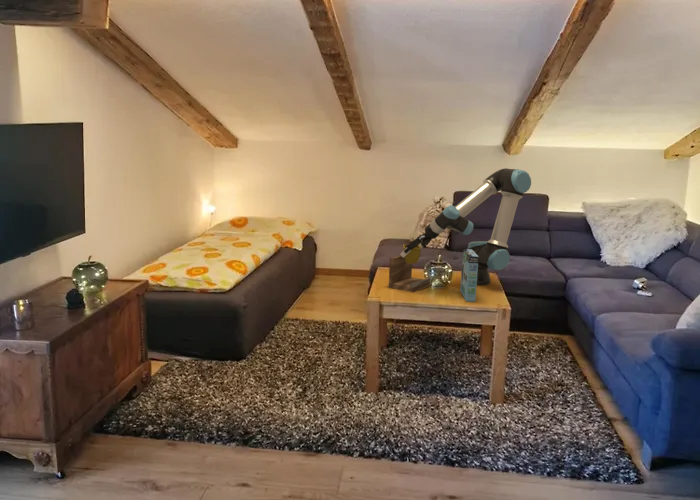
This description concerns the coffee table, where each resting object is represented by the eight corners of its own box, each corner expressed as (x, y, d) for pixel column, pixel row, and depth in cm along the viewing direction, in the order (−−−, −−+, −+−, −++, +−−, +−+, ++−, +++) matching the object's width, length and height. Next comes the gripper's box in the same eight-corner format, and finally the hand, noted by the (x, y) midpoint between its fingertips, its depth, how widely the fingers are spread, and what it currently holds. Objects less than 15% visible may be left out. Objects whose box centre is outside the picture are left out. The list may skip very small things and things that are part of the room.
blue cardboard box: (460, 291, 321) (462, 248, 317) (469, 292, 321) (472, 249, 316) (465, 301, 302) (468, 256, 297) (476, 302, 302) (479, 256, 297)
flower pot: (420, 264, 323) (421, 247, 321) (403, 264, 323) (404, 247, 321) (418, 261, 331) (419, 245, 330) (402, 261, 331) (402, 244, 330)
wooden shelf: (431, 285, 333) (433, 256, 330) (413, 292, 317) (414, 262, 314) (408, 280, 342) (409, 252, 339) (388, 287, 326) (389, 258, 323)
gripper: (427, 237, 305) (400, 263, 317) (449, 231, 324) (423, 256, 336) (418, 225, 307) (391, 251, 319) (441, 220, 326) (415, 245, 338)
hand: (407, 254), depth 328 cm, fingers closed on flower pot, 12 cm apart
